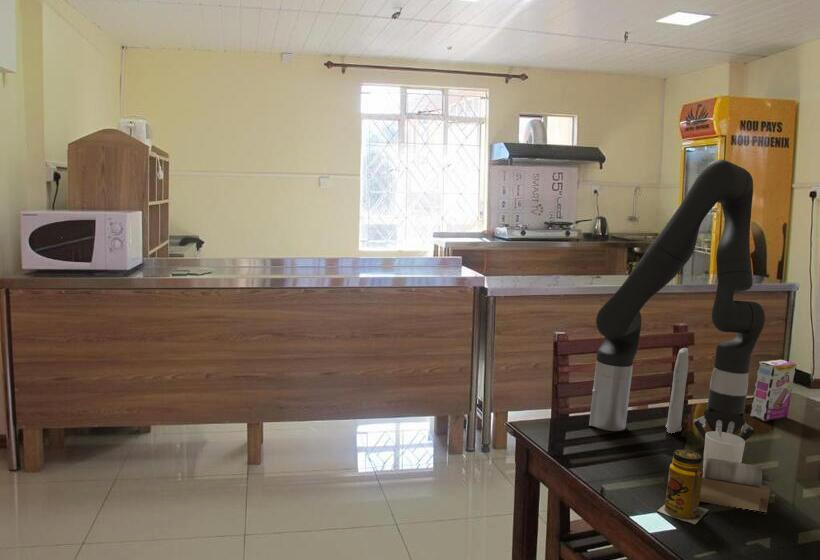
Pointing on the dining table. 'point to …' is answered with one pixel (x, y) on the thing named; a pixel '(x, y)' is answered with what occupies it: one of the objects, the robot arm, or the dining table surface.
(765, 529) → the dining table surface
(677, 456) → the condiment
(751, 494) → the bay
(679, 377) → the tall pale column
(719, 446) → the white cup
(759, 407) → the candy bar box
